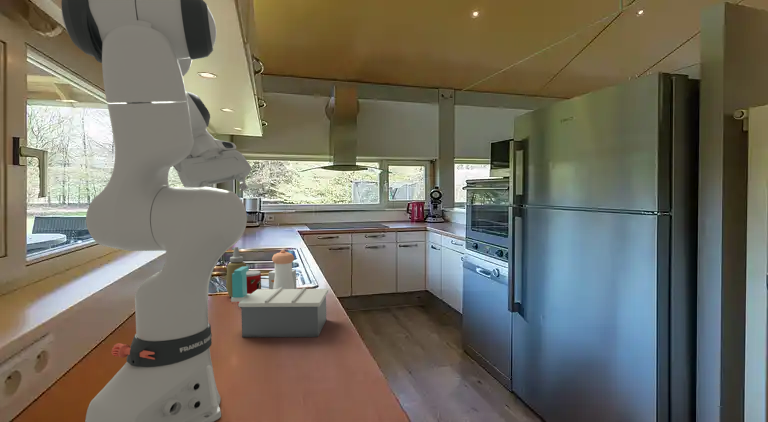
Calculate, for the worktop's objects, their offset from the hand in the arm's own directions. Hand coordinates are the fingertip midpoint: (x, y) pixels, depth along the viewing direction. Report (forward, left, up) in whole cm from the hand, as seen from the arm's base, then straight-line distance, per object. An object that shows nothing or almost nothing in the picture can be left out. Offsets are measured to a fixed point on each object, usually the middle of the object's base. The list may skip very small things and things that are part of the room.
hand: (231, 193), depth 109 cm
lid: (+5, -11, -30) cm, 32 cm away
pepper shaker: (+22, -1, -38) cm, 44 cm away
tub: (+6, -13, -38) cm, 40 cm away
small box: (+30, +5, -38) cm, 49 cm away
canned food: (+22, +13, -38) cm, 46 cm away
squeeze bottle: (+30, +25, -38) cm, 54 cm away
